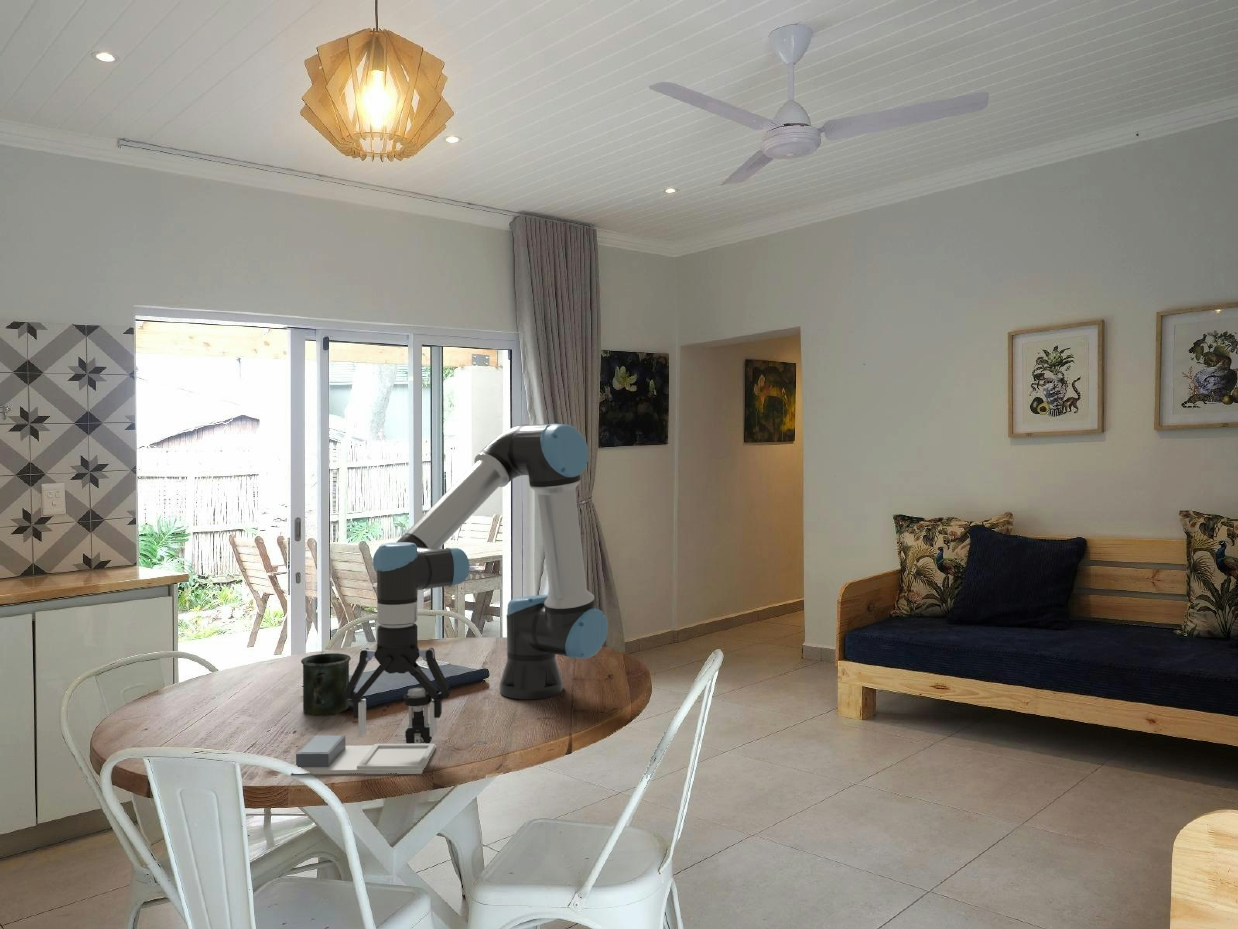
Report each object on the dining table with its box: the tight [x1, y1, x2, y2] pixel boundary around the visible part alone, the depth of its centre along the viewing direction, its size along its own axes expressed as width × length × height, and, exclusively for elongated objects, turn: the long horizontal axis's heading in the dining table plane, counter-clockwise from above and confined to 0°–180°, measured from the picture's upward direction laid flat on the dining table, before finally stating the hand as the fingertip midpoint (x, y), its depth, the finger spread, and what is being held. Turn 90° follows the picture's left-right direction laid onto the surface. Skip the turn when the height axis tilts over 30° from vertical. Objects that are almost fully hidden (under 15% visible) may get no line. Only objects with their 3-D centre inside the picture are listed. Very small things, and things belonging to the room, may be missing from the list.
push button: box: [397, 687, 433, 744], centre depth 175 cm, size 7×5×10 cm
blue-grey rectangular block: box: [295, 734, 346, 767], centre depth 175 cm, size 6×11×3 cm, turn 1°
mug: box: [300, 652, 352, 717], centre depth 208 cm, size 11×15×12 cm
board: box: [301, 743, 437, 775], centre depth 175 cm, size 24×14×1 cm, turn 91°
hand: (397, 734), depth 175 cm, fingers open, 13 cm apart
